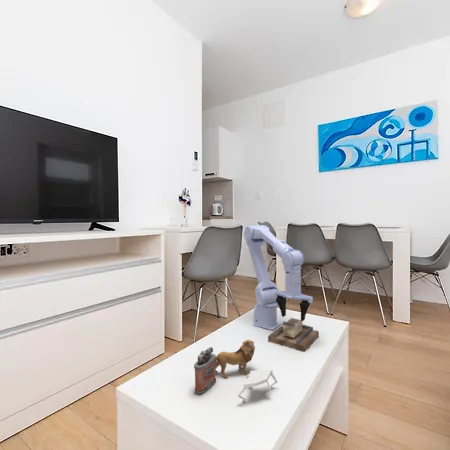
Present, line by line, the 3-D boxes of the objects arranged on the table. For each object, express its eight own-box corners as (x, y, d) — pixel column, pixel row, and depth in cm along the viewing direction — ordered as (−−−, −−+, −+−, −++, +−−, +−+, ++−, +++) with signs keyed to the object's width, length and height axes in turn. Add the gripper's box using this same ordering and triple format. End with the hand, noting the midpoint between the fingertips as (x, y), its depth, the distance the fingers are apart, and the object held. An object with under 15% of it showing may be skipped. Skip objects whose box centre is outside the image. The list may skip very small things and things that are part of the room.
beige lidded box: (282, 336, 102) (282, 321, 102) (291, 329, 108) (291, 315, 108) (294, 339, 99) (294, 324, 99) (302, 332, 106) (302, 317, 106)
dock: (268, 341, 103) (268, 332, 103) (285, 328, 115) (285, 320, 115) (304, 351, 94) (304, 342, 94) (318, 336, 106) (318, 328, 106)
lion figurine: (250, 363, 87) (250, 335, 87) (258, 372, 82) (258, 342, 82) (206, 374, 82) (206, 344, 82) (212, 384, 77) (212, 352, 77)
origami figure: (252, 378, 79) (252, 362, 79) (279, 389, 74) (279, 371, 74) (228, 401, 70) (228, 382, 70) (257, 415, 65) (257, 394, 65)
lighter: (201, 396, 71) (201, 359, 71) (191, 392, 73) (191, 355, 73) (218, 381, 78) (218, 346, 78) (209, 377, 80) (208, 343, 80)
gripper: (270, 282, 105) (271, 317, 105) (308, 287, 96) (308, 325, 97) (279, 278, 110) (279, 311, 111) (314, 283, 102) (314, 319, 102)
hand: (293, 318), depth 104 cm, fingers open, 7 cm apart
